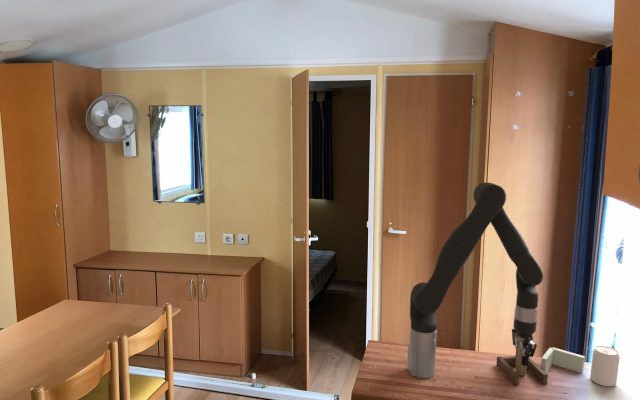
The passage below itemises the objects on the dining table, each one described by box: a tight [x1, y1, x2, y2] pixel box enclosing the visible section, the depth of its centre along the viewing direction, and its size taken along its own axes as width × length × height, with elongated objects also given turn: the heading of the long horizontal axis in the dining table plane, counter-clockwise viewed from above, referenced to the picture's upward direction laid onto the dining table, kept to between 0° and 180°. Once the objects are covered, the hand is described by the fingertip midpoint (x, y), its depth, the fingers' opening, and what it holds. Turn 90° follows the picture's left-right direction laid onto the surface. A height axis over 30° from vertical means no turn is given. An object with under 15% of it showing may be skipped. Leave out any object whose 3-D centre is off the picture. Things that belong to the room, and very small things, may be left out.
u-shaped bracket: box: [496, 355, 549, 386], centre depth 177 cm, size 12×14×4 cm
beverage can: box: [589, 345, 620, 387], centre depth 172 cm, size 8×8×12 cm
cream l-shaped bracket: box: [540, 346, 586, 374], centre depth 182 cm, size 17×9×6 cm, turn 95°
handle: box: [514, 333, 534, 377], centre depth 176 cm, size 5×6×15 cm
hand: (521, 361), depth 177 cm, fingers closed on handle, 4 cm apart
